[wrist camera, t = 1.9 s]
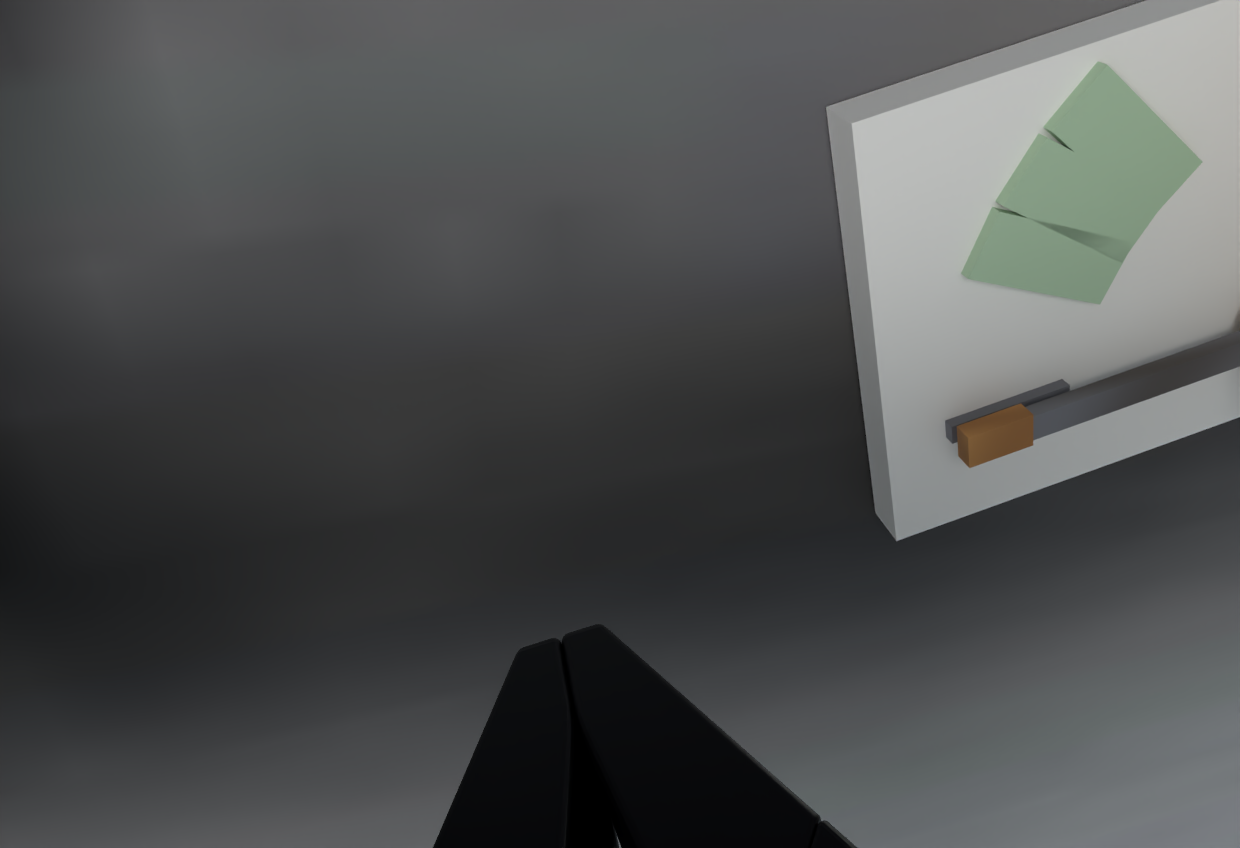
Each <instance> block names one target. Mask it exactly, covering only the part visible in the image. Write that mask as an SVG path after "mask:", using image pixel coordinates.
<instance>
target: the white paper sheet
mask: <svg viewBox="0 0 1240 848" xmlns="http://www.w3.org/2000/svg"><path fill="white" fill-rule="evenodd" d="M826 111H827V120H828V128H829V136H830V144H831V153H832V161H833V169H834V177H835V185H836V194H837V202H838V210H839V218H840V227H841V235H842V243H843V251H844V259H845V268H846V276H847V284H848V292H849V301H850V309H851V317H852V325H853V333H854V342H855V350H856V358H857V366H858V375H859V383H860V391H861V399H862V407H863V416H864V424H865V432H866V440H867V449H868V457H869V465H870V473H871V481H872V490H873V498H874V506H875V513H876V514H877V516H878V517H879V518H880V520H881V521H882V522H883V524H884V525H885V526H886V528H887V529H888V530H889V532H890V533H891V534H892V536H893V537H894V538H895V540H896V541H898V540H901V539H904V538H906V537H909V536H912V535H915V534H918V533H920V532H923V531H926V530H929V529H931V528H934V527H937V526H940V525H942V524H945V523H948V522H951V521H954V520H956V519H959V518H962V517H965V516H967V515H970V514H973V513H976V512H978V511H981V510H984V509H987V508H989V507H992V506H995V505H998V504H1001V503H1003V502H1006V501H1009V500H1012V499H1014V498H1017V497H1020V496H1023V495H1025V494H1028V493H1031V492H1034V491H1037V490H1039V489H1042V488H1045V487H1048V486H1050V485H1053V484H1056V483H1059V482H1061V481H1064V480H1067V479H1070V478H1072V477H1075V476H1078V475H1081V474H1084V473H1086V472H1089V471H1092V470H1095V469H1097V468H1100V467H1103V466H1106V465H1108V464H1111V463H1114V462H1117V461H1120V460H1122V459H1125V458H1128V457H1131V456H1133V455H1136V454H1139V453H1142V452H1144V451H1147V450H1150V449H1153V448H1155V447H1158V446H1161V445H1164V444H1167V443H1169V442H1172V441H1175V440H1178V439H1180V438H1183V437H1186V436H1189V435H1191V434H1194V433H1197V432H1200V431H1202V430H1205V429H1208V428H1211V427H1214V426H1216V425H1219V424H1222V423H1225V422H1227V421H1230V420H1233V419H1236V418H1238V417H1240V367H1237V368H1234V369H1231V370H1229V371H1226V372H1223V373H1220V374H1217V375H1215V376H1212V377H1209V378H1206V379H1203V380H1201V381H1198V382H1195V383H1192V384H1189V385H1187V386H1184V387H1181V388H1178V389H1176V390H1173V391H1170V392H1167V393H1164V394H1162V395H1159V396H1156V397H1153V398H1150V399H1148V400H1145V401H1142V402H1139V403H1136V404H1134V405H1131V406H1128V407H1125V408H1122V409H1120V410H1117V411H1114V412H1111V413H1109V414H1106V415H1103V416H1100V417H1097V418H1095V419H1092V420H1089V421H1086V422H1083V423H1081V424H1078V425H1075V426H1072V427H1069V428H1067V429H1064V430H1061V431H1058V432H1055V433H1053V434H1050V435H1047V436H1044V437H1041V438H1039V439H1036V440H1033V446H1030V447H1027V448H1025V449H1022V450H1019V451H1016V452H1013V453H1011V454H1008V455H1005V456H1002V457H1000V458H997V459H994V460H991V461H988V462H986V463H983V464H980V465H977V466H974V467H972V468H969V467H968V466H967V465H966V464H965V463H964V462H963V461H962V460H961V459H960V458H959V457H958V442H957V426H959V425H961V424H964V423H967V422H970V421H973V420H975V419H978V418H981V417H984V416H987V415H990V414H992V413H995V412H998V411H1001V410H1004V409H1006V408H1009V407H1012V406H1015V405H1018V404H1020V403H1021V404H1022V405H1023V406H1024V407H1026V406H1029V405H1032V404H1035V403H1037V402H1040V401H1043V400H1046V399H1049V398H1051V397H1054V396H1057V395H1060V394H1063V393H1065V392H1068V391H1071V390H1074V389H1077V388H1080V387H1082V386H1085V385H1088V384H1091V383H1094V382H1096V381H1099V380H1102V379H1105V378H1108V377H1110V376H1113V375H1116V374H1119V373H1122V372H1124V371H1127V370H1130V369H1133V368H1136V367H1139V366H1141V365H1144V364H1147V363H1150V362H1153V361H1155V360H1158V359H1161V358H1164V357H1167V356H1169V355H1172V354H1175V353H1178V352H1181V351H1184V350H1186V349H1189V348H1192V347H1195V346H1198V345H1200V344H1203V343H1206V342H1209V341H1212V340H1214V339H1217V338H1220V337H1223V336H1226V335H1228V334H1231V333H1234V332H1237V331H1240V0H1146V1H1143V2H1140V3H1137V4H1134V5H1131V6H1128V7H1125V8H1122V9H1119V10H1116V11H1113V12H1110V13H1107V14H1104V15H1101V16H1098V17H1095V18H1092V19H1089V20H1086V21H1083V22H1080V23H1077V24H1074V25H1071V26H1068V27H1065V28H1062V29H1059V30H1056V31H1053V32H1050V33H1047V34H1044V35H1041V36H1038V37H1035V38H1032V39H1029V40H1026V41H1023V42H1020V43H1017V44H1014V45H1011V46H1008V47H1005V48H1002V49H999V50H996V51H993V52H990V53H987V54H984V55H981V56H978V57H975V58H972V59H969V60H966V61H963V62H959V63H956V64H953V65H950V66H947V67H944V68H941V69H938V70H935V71H932V72H929V73H926V74H923V75H920V76H917V77H914V78H911V79H908V80H905V81H902V82H899V83H896V84H893V85H890V86H887V87H884V88H881V89H878V90H875V91H872V92H869V93H866V94H863V95H860V96H857V97H854V98H851V99H848V100H845V101H842V102H839V103H836V104H833V105H830V106H827V107H826Z"/></svg>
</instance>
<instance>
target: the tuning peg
mask: <svg viewBox="0 0 1240 848" xmlns="http://www.w3.org/2000/svg"><path fill="white" fill-rule="evenodd" d="M1237 367H1240V331H1237V332H1234V333H1231V334H1228V335H1226V336H1223V337H1220V338H1217V339H1214V340H1212V341H1209V342H1206V343H1203V344H1200V345H1198V346H1195V347H1192V348H1189V349H1186V350H1184V351H1181V352H1178V353H1175V354H1172V355H1169V356H1167V357H1164V358H1161V359H1158V360H1155V361H1153V362H1150V363H1147V364H1144V365H1141V366H1139V367H1136V368H1133V369H1130V370H1127V371H1124V372H1122V373H1119V374H1116V375H1113V376H1110V377H1108V378H1105V379H1102V380H1099V381H1096V382H1094V383H1091V384H1088V385H1085V386H1082V387H1080V388H1077V389H1074V390H1071V391H1068V392H1065V393H1063V394H1060V395H1057V396H1054V397H1051V398H1049V399H1046V400H1043V401H1040V402H1037V403H1035V404H1032V405H1029V406H1026V407H1024V406H1023V405H1022V404H1021V403H1020V404H1018V405H1015V406H1012V407H1009V408H1006V409H1004V410H1001V411H998V412H995V413H992V414H990V415H987V416H984V417H981V418H978V419H975V420H973V421H970V422H967V423H964V424H961V425H959V426H957V442H958V457H959V458H960V459H961V460H962V461H963V462H964V463H965V464H966V465H967V466H968V467H969V468H972V467H974V466H977V465H980V464H983V463H986V462H988V461H991V460H994V459H997V458H1000V457H1002V456H1005V455H1008V454H1011V453H1013V452H1016V451H1019V450H1022V449H1025V448H1027V447H1030V446H1033V440H1036V439H1039V438H1041V437H1044V436H1047V435H1050V434H1053V433H1055V432H1058V431H1061V430H1064V429H1067V428H1069V427H1072V426H1075V425H1078V424H1081V423H1083V422H1086V421H1089V420H1092V419H1095V418H1097V417H1100V416H1103V415H1106V414H1109V413H1111V412H1114V411H1117V410H1120V409H1122V408H1125V407H1128V406H1131V405H1134V404H1136V403H1139V402H1142V401H1145V400H1148V399H1150V398H1153V397H1156V396H1159V395H1162V394H1164V393H1167V392H1170V391H1173V390H1176V389H1178V388H1181V387H1184V386H1187V385H1189V384H1192V383H1195V382H1198V381H1201V380H1203V379H1206V378H1209V377H1212V376H1215V375H1217V374H1220V373H1223V372H1226V371H1229V370H1231V369H1234V368H1237Z"/></svg>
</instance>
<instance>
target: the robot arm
mask: <svg viewBox="0 0 1240 848" xmlns="http://www.w3.org/2000/svg"><path fill="white" fill-rule="evenodd" d="M616 834H617V835H616ZM617 836H618V839H619V842H620V845H621V848H857V847H856V846H855V845H854V844H852V843H851V842H850V841H849V840H848V839H847V838H846V837H845V836H843V835H842V834H841V833H840V832H839V831H838V830H837V829H835V828H834V827H833V826H832V825H831V824H830V823H829V822H827V821H821V818H820V816H819V815H818V814H817V813H816V812H815V811H813V810H812V809H811V808H810V807H809V806H808V805H807V804H805V803H804V802H803V801H802V800H801V799H800V798H799V797H798V796H796V795H795V794H794V793H793V792H792V791H791V790H790V789H789V788H787V787H786V786H785V785H784V784H783V783H782V782H781V781H779V780H778V779H777V778H776V777H775V776H774V775H773V774H772V773H770V772H769V771H768V770H767V769H766V768H765V767H764V766H762V765H761V764H760V763H759V762H758V761H757V760H756V759H755V758H753V757H752V756H751V755H750V754H749V753H748V752H747V751H745V750H744V749H743V748H742V747H741V746H740V745H739V744H738V743H736V742H735V741H734V740H733V739H732V738H731V737H730V736H728V735H727V734H726V733H725V732H724V731H723V730H722V729H721V728H719V727H718V726H717V725H716V724H715V723H714V722H713V721H711V720H710V719H709V718H708V717H707V716H706V715H705V714H704V713H702V712H701V711H700V710H699V709H698V708H697V707H696V706H695V705H693V704H692V703H691V702H690V701H689V700H688V699H687V698H685V697H684V696H683V695H682V694H681V693H680V692H679V691H678V690H676V689H675V688H674V687H673V686H672V685H671V684H670V683H668V682H667V681H666V680H665V679H664V678H663V677H662V676H661V675H659V674H658V673H657V672H656V671H655V670H654V669H653V668H651V667H650V666H649V665H648V664H647V663H646V662H645V661H644V660H642V659H641V658H640V657H639V656H638V655H637V654H636V653H634V652H633V651H632V650H631V649H630V648H629V647H628V646H627V645H625V644H624V643H623V642H622V641H621V640H620V639H619V638H618V637H616V636H615V635H614V634H613V633H612V632H611V631H610V630H608V629H607V628H606V627H604V626H603V625H600V624H597V625H593V626H590V627H586V628H583V629H580V630H577V631H574V632H570V633H568V634H566V635H565V636H564V637H563V639H562V643H561V641H560V640H558V639H556V638H551V639H548V640H545V641H542V642H539V643H536V644H532V645H529V646H526V647H523V648H521V649H520V650H519V651H518V652H517V654H516V656H515V658H514V660H513V663H512V665H511V667H510V670H509V672H508V674H507V677H506V679H505V681H504V684H503V686H502V688H501V691H500V693H499V695H498V698H497V700H496V702H495V705H494V707H493V709H492V712H491V714H490V716H489V719H488V721H487V723H486V726H485V728H484V730H483V732H482V735H481V737H480V739H479V742H478V744H477V746H476V749H475V751H474V753H473V756H472V758H471V760H470V763H469V765H468V767H467V770H466V772H465V774H464V777H463V779H462V781H461V784H460V786H459V788H458V791H457V793H456V795H455V798H454V800H453V802H452V805H451V807H450V809H449V812H448V814H447V816H446V819H445V821H444V823H443V826H442V828H441V830H440V833H439V835H438V837H437V840H436V842H435V844H434V847H433V848H619V844H618V839H617Z"/></svg>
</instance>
